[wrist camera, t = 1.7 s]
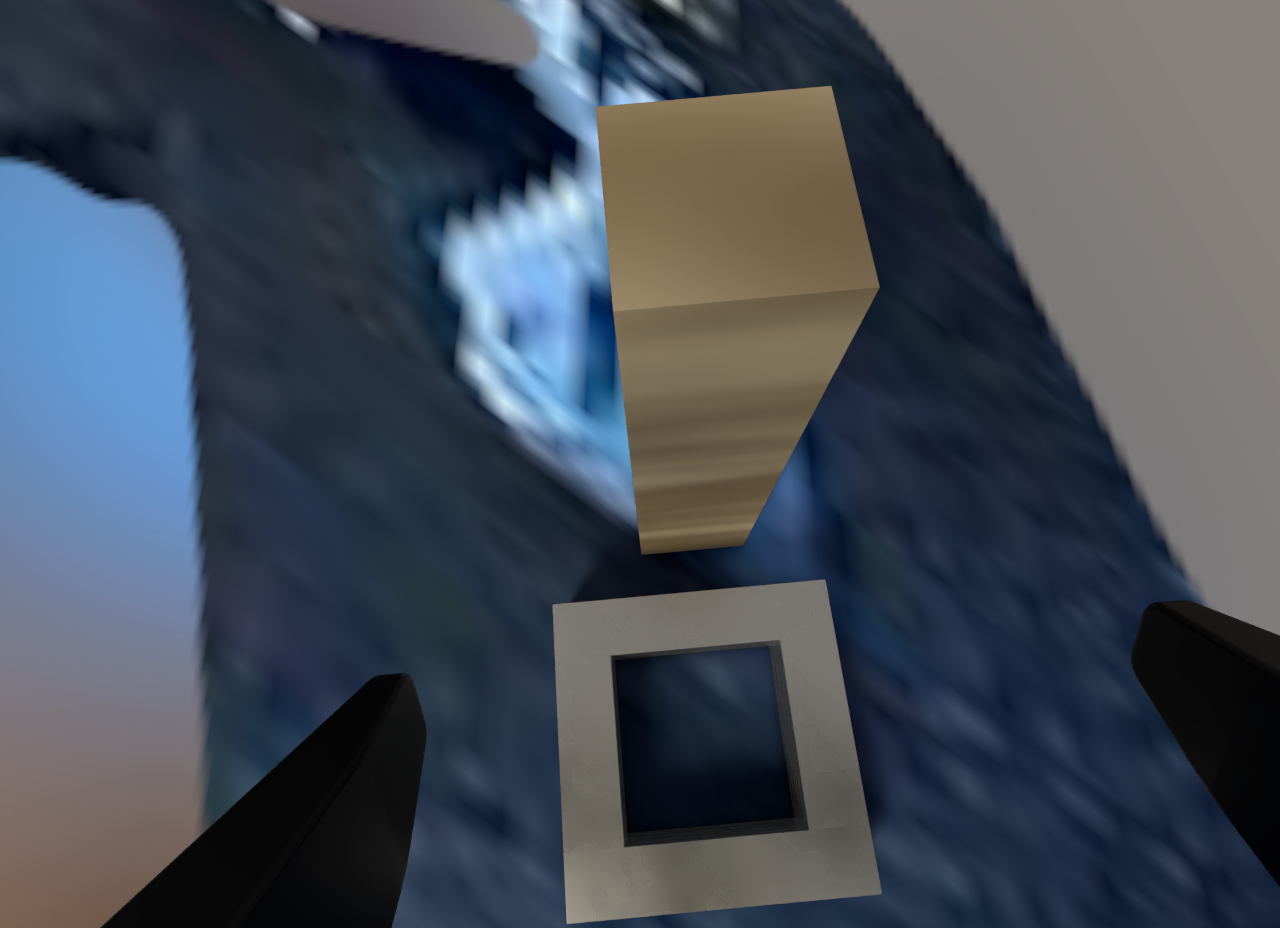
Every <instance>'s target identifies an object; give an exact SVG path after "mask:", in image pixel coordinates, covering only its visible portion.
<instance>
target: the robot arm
mask: <svg viewBox="0 0 1280 928" xmlns="http://www.w3.org/2000/svg"><path fill="white" fill-rule="evenodd" d="M1131 663H1132V668H1133V670H1134V673H1135V675H1136V677H1137V679H1138V680H1139V682H1140V684H1141V685H1142V687H1143V688H1144V690H1145V692H1146V693H1147V695H1148V696H1149V698H1150V700H1151V701H1152V703H1153V704H1154V706H1155V708H1156V709H1157V711H1158V712H1159V714H1160V716H1161V717H1162V719H1163V720H1164V722H1165V724H1166V725H1167V727H1168V729H1169V730H1170V732H1171V733H1172V735H1173V737H1174V738H1175V740H1176V741H1177V743H1178V745H1179V746H1180V748H1181V749H1182V751H1183V753H1184V754H1185V756H1186V757H1187V759H1188V761H1189V762H1190V764H1191V765H1192V767H1193V769H1194V770H1195V772H1196V773H1197V775H1198V776H1199V778H1200V779H1201V781H1202V783H1203V784H1204V786H1205V787H1206V789H1207V790H1208V792H1209V793H1210V795H1211V796H1212V797H1213V799H1214V800H1215V801H1216V803H1217V804H1218V806H1219V807H1220V808H1221V810H1222V811H1223V813H1224V814H1225V815H1226V817H1227V818H1228V819H1229V821H1230V822H1231V823H1232V825H1233V826H1234V827H1235V829H1236V830H1237V831H1238V833H1239V834H1240V835H1241V836H1242V838H1243V839H1244V840H1245V842H1246V843H1247V844H1248V846H1249V847H1250V848H1251V850H1252V851H1253V852H1254V854H1255V855H1256V856H1257V858H1258V859H1259V860H1260V862H1261V863H1262V864H1263V866H1264V867H1265V868H1266V870H1267V871H1268V872H1269V874H1270V875H1271V876H1272V878H1273V879H1274V880H1275V882H1276V883H1277V884H1278V886H1279V887H1280V636H1279V635H1277V634H1274V633H1272V632H1269V631H1266V630H1264V629H1261V628H1259V627H1256V626H1254V625H1251V624H1249V623H1246V622H1243V621H1240V620H1238V619H1235V618H1233V617H1230V616H1228V615H1225V614H1223V613H1220V612H1218V611H1215V610H1213V609H1210V608H1207V607H1205V606H1202V605H1200V604H1197V603H1195V602H1191V601H1187V600H1176V601H1165V602H1156V603H1153V604H1150V605H1149V606H1148V607H1147V608H1146V609H1145V611H1144V613H1143V616H1142V619H1141V622H1140V626H1139V629H1138V633H1137V636H1136V639H1135V643H1134V646H1133V649H1132V653H1131ZM426 735H427V733H426V722H425V719H424V715H423V712H422V708H421V705H420V702H419V698H418V695H417V691H416V688H415V685H414V682H413V680H412V678H411V676H410V675H408V674H406V673H396V674H385V675H378V676H375V677H373V678H372V679H370V680H369V681H368V682H367V683H366V684H365V685H364V686H362V687H361V688H360V689H359V690H358V691H357V692H356V693H355V694H354V695H353V696H352V697H350V698H349V699H348V700H347V701H346V702H345V703H344V704H343V705H342V706H341V707H340V708H338V709H337V710H336V711H335V712H334V713H333V714H332V715H331V716H330V717H329V718H328V719H327V720H325V721H324V722H323V723H322V724H321V725H320V726H319V727H318V728H317V729H316V730H315V731H313V732H312V733H311V734H310V735H309V736H308V737H307V738H306V739H305V740H304V741H303V742H302V743H300V744H299V745H298V746H297V747H296V748H295V749H294V750H293V751H292V752H291V753H290V754H288V755H287V756H286V757H285V758H284V759H283V760H282V761H281V762H280V763H279V764H278V765H277V766H275V767H274V768H273V769H272V770H271V771H270V772H269V773H268V774H267V775H266V776H265V777H263V778H262V779H261V780H260V781H259V782H258V783H257V784H256V785H255V786H254V787H253V788H251V789H250V790H249V791H248V792H247V793H246V794H245V795H244V796H243V797H242V798H241V799H240V800H238V801H237V802H236V803H235V804H234V805H233V806H232V807H231V808H230V809H229V810H228V811H226V812H225V813H224V814H223V815H222V816H221V817H220V818H219V819H218V820H217V821H216V822H215V823H213V824H212V825H211V826H210V827H209V828H208V829H207V830H206V831H205V832H204V833H203V834H201V835H200V836H199V837H198V838H197V839H196V840H195V841H194V842H193V843H192V844H191V845H190V846H188V847H187V848H186V849H185V850H184V851H183V852H182V853H181V854H180V855H179V856H178V857H177V858H175V859H174V860H173V861H172V862H171V863H170V864H169V865H168V866H167V867H166V868H164V870H162V871H161V872H160V873H159V874H158V875H157V876H156V877H155V878H154V879H153V880H151V881H150V882H149V883H148V884H147V885H146V886H145V887H144V888H143V889H142V890H141V891H140V892H138V893H137V894H136V895H135V896H134V897H133V898H132V899H131V900H130V901H129V902H128V903H126V904H125V905H124V906H123V907H122V908H121V909H120V910H119V911H118V912H117V913H116V914H114V915H113V916H112V917H111V918H110V919H109V920H108V921H107V922H106V923H105V924H104V925H103V926H102V927H100V928H392V924H393V920H394V916H395V912H396V909H397V905H398V901H399V897H400V893H401V889H402V885H403V881H404V877H405V872H406V868H407V862H408V856H409V851H410V845H411V838H412V831H413V825H414V818H415V812H416V805H417V799H418V792H419V786H420V779H421V772H422V766H423V759H424V753H425V746H426Z"/></svg>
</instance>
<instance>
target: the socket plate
mask: <svg viewBox="0 0 1280 928" xmlns="http://www.w3.org/2000/svg"><path fill="white" fill-rule="evenodd" d="M553 623H554V646H555V669H556V691H557V714H558V736H559V759H560V782H561V804H562V827H563V849H564V872H565V894H566V917H567V924H571V923H582V922H592V921H603V920H613V919H624V918H634V917H645V916H655V915H666V914H676V913H687V912H697V911H708V910H719V909H729V908H740V907H750V906H761V905H771V904H782V903H792V902H803V901H813V900H824V899H835V898H845V897H856V896H866V895H877V894H882V892H881V887H880V881H879V876H878V870H877V864H876V859H875V853H874V848H873V842H872V837H871V831H870V825H869V820H868V814H867V809H866V803H865V798H864V792H863V786H862V781H861V775H860V770H859V764H858V759H857V753H856V748H855V742H854V736H853V731H852V725H851V720H850V714H849V709H848V703H847V697H846V692H845V686H844V681H843V675H842V670H841V664H840V658H839V653H838V647H837V642H836V636H835V631H834V625H833V619H832V614H831V608H830V603H829V597H828V592H827V586H826V581H825V580H814V581H803V582H792V583H781V584H771V585H760V586H749V587H738V588H727V589H717V590H706V591H695V592H684V593H673V594H663V595H652V596H641V597H630V598H619V599H609V600H598V601H587V602H576V603H565V604H555V605H553ZM762 646H769V651H770V658H771V664H772V671H773V678H774V685H775V692H776V698H777V705H778V712H779V719H780V726H781V733H782V739H783V746H784V753H785V760H786V767H787V773H788V780H789V787H790V794H791V801H792V807H793V814H794V818H784V819H773V820H763V821H752V822H742V823H731V824H720V825H710V826H699V827H688V828H678V829H667V830H657V831H646V832H635V833H628V832H627V818H626V804H625V791H624V777H623V763H622V749H621V736H620V722H619V708H618V694H617V681H616V667H615V660H622V659H633V658H644V657H654V656H665V655H676V654H687V653H697V652H708V651H719V650H730V649H740V648H751V647H762Z"/></svg>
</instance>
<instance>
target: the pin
mask: <svg viewBox="0 0 1280 928" xmlns="http://www.w3.org/2000/svg"><path fill="white" fill-rule="evenodd" d="M596 116H597V128H598V139H599V151H600V163H601V174H602V186H603V197H604V209H605V221H606V232H607V244H608V255H609V267H610V279H611V290H612V302H613V313H614V321H615V330H616V339H617V347H618V356H619V365H620V373H621V382H622V391H623V399H624V408H625V416H626V425H627V434H628V442H629V451H630V460H631V468H632V477H633V486H634V494H635V503H636V512H637V520H638V529H639V537H640V546H641V555H646V554H657V553H668V552H679V551H690V550H701V549H711V548H722V547H733V546H743V545H744V543H745V541H746V539H747V537H748V536H749V534H750V532H751V530H752V528H753V526H754V524H755V522H756V520H757V519H758V517H759V515H760V513H761V511H762V509H763V507H764V505H765V503H766V501H767V500H768V498H769V496H770V494H771V492H772V490H773V488H774V486H775V484H776V483H777V481H778V479H779V477H780V475H781V473H782V471H783V469H784V467H785V466H786V464H787V462H788V460H789V458H790V456H791V454H792V452H793V450H794V449H795V447H796V445H797V443H798V441H799V439H800V437H801V435H802V433H803V431H804V430H805V428H806V426H807V424H808V422H809V420H810V418H811V416H812V414H813V413H814V411H815V409H816V407H817V405H818V403H819V401H820V399H821V397H822V396H823V394H824V392H825V390H826V388H827V386H828V384H829V382H830V380H831V378H832V377H833V375H834V373H835V371H836V369H837V367H838V365H839V363H840V361H841V360H842V358H843V356H844V354H845V352H846V350H847V348H848V346H849V344H850V343H851V341H852V339H853V337H854V335H855V333H856V331H857V329H858V327H859V326H860V324H861V322H862V320H863V318H864V316H865V314H866V312H867V310H868V308H869V307H870V305H871V303H872V301H873V299H874V297H875V295H876V293H877V291H878V290H879V288H880V286H879V282H878V278H877V274H876V270H875V266H874V261H873V257H872V253H871V249H870V245H869V241H868V237H867V232H866V228H865V224H864V220H863V216H862V212H861V208H860V203H859V199H858V195H857V191H856V187H855V183H854V179H853V174H852V170H851V166H850V162H849V158H848V154H847V150H846V145H845V141H844V137H843V133H842V129H841V125H840V121H839V116H838V112H837V108H836V104H835V100H834V96H833V91H832V87H831V86H825V87H814V88H803V89H792V90H780V91H769V92H758V93H747V94H736V95H724V96H713V97H702V98H691V99H680V100H668V101H657V102H646V103H635V104H624V105H612V106H601V107H596Z"/></svg>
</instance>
